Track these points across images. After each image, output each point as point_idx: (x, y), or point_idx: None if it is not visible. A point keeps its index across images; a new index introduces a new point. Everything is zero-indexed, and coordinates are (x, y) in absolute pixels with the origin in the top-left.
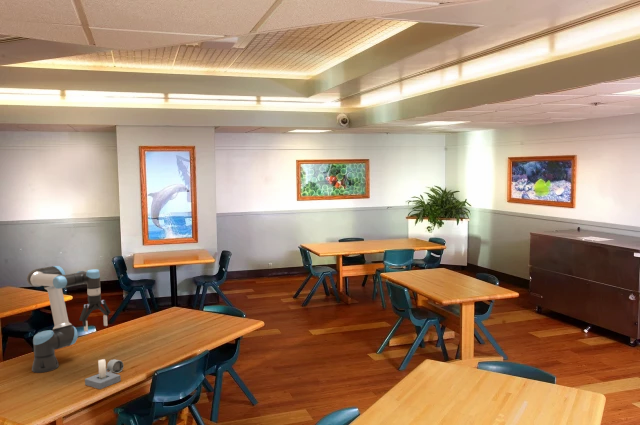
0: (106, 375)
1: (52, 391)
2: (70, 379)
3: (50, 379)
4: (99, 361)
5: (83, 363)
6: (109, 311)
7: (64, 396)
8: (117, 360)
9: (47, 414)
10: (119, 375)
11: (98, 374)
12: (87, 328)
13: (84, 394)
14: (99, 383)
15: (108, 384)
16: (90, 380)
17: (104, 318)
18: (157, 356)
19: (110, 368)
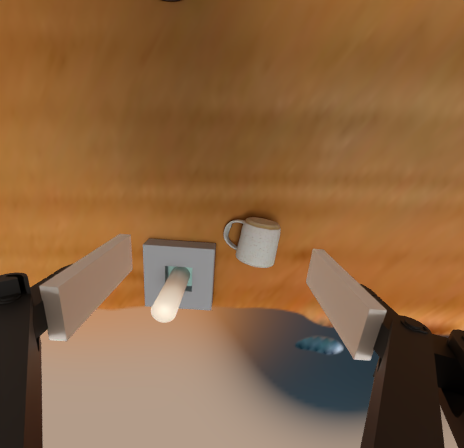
0: (192, 278)
1: (71, 194)
2: (151, 161)
3: (115, 92)
4: (152, 313)
5: (272, 58)
6: (461, 412)
7: (75, 254)
8: (258, 264)
9: None
10: (208, 309)
11: (185, 252)
12: (116, 283)
13: None
14: (145, 305)
15: None
16: (144, 268)
17: (341, 301)
18: (402, 253)
19: (238, 243)
